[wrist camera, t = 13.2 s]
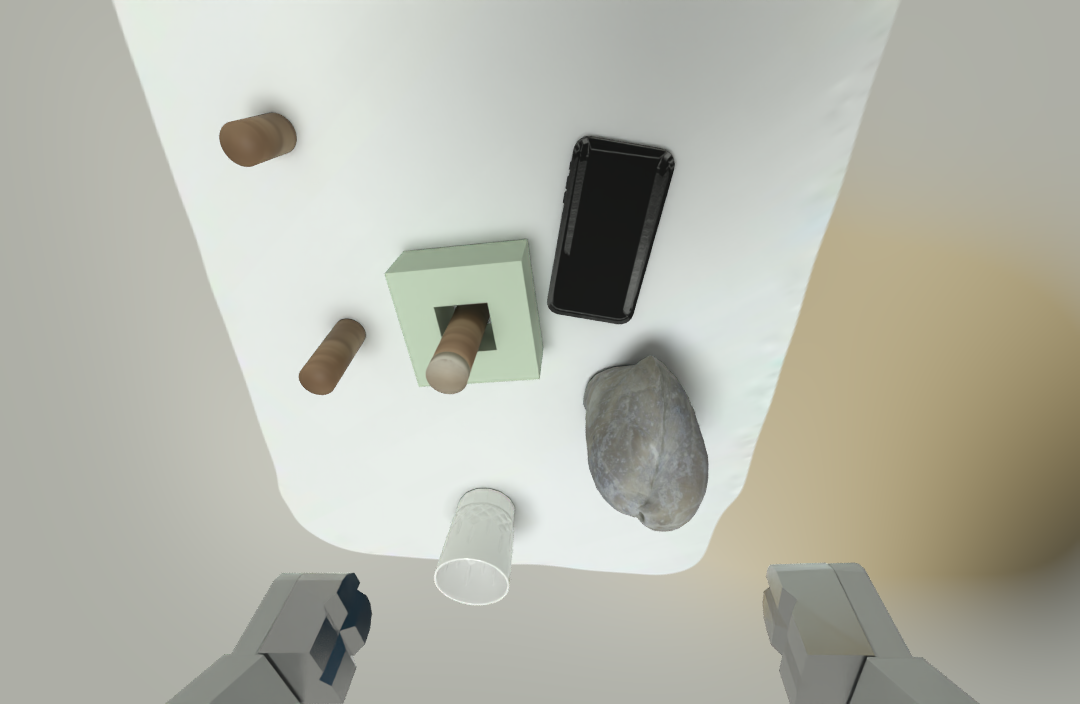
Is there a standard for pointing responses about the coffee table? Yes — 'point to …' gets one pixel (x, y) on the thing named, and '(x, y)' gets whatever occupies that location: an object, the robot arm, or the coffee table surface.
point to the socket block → (468, 278)
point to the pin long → (458, 348)
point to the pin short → (257, 139)
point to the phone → (608, 228)
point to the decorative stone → (645, 444)
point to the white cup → (478, 549)
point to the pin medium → (332, 357)
